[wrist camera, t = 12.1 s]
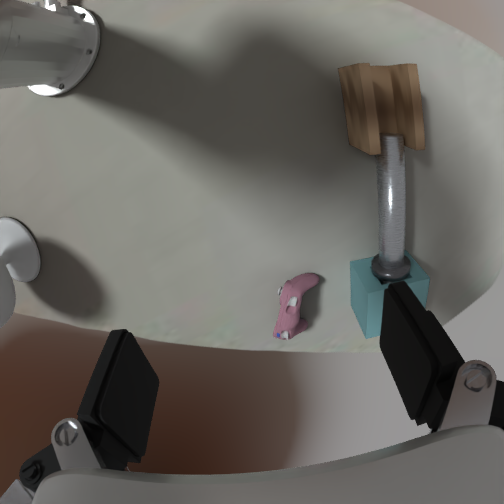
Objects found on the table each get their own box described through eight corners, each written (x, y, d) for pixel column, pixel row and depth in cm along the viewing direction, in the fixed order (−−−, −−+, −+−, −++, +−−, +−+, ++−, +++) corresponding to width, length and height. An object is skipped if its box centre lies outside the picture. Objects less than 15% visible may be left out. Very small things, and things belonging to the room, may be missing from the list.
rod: (358, 133, 32) (376, 140, 28) (398, 130, 32) (420, 137, 27) (365, 308, 44) (376, 331, 40) (396, 300, 44) (410, 322, 39)
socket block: (350, 261, 42) (368, 293, 36) (405, 250, 42) (430, 278, 35) (350, 305, 46) (365, 338, 39) (402, 293, 45) (422, 323, 39)
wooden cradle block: (337, 68, 30) (358, 63, 24) (388, 66, 30) (416, 63, 24) (349, 144, 35) (370, 155, 29) (397, 139, 34) (425, 149, 28)
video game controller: (291, 263, 44) (273, 287, 38) (322, 272, 42) (308, 298, 37) (281, 316, 49) (264, 343, 43) (308, 325, 47) (294, 354, 41)
